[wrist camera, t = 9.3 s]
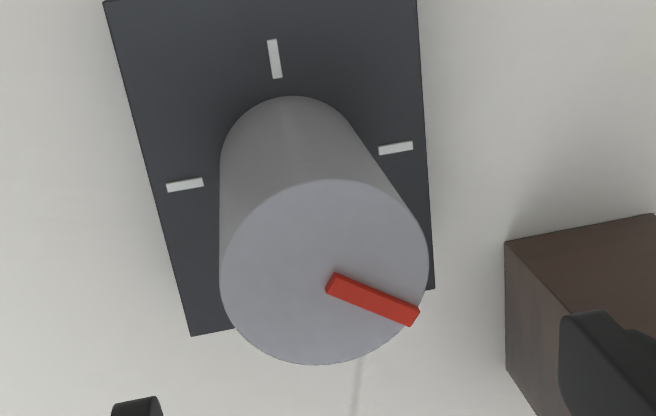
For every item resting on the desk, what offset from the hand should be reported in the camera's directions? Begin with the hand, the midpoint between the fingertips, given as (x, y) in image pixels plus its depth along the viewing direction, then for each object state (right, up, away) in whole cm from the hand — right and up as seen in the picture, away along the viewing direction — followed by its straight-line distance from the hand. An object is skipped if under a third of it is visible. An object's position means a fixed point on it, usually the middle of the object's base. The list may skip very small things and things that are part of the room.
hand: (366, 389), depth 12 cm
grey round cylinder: (-2, +5, +12) cm, 14 cm away
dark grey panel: (-3, +6, +15) cm, 17 cm away
